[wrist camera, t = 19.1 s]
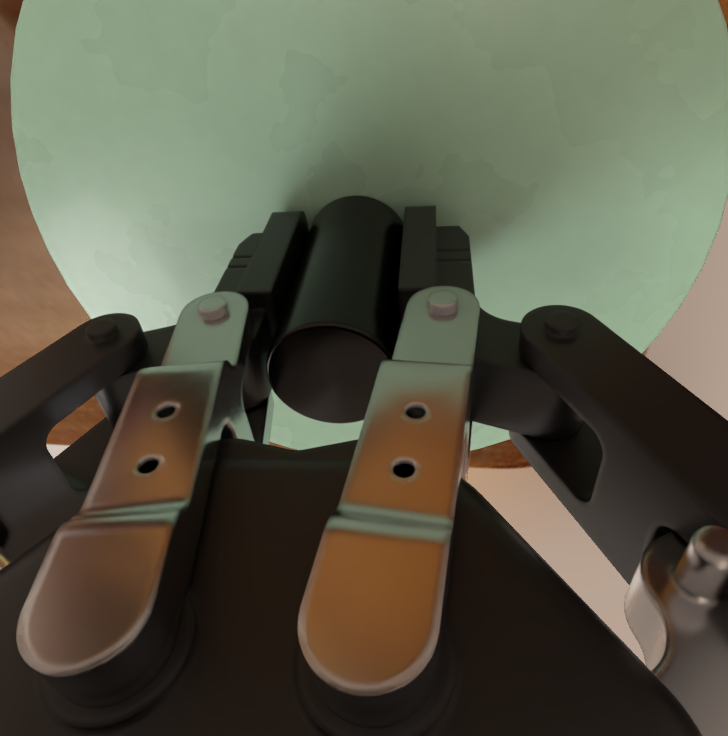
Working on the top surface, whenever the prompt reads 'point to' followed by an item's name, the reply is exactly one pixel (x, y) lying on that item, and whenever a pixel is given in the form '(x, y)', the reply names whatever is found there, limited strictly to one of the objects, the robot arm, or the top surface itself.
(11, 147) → the top surface
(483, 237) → the pan lid
